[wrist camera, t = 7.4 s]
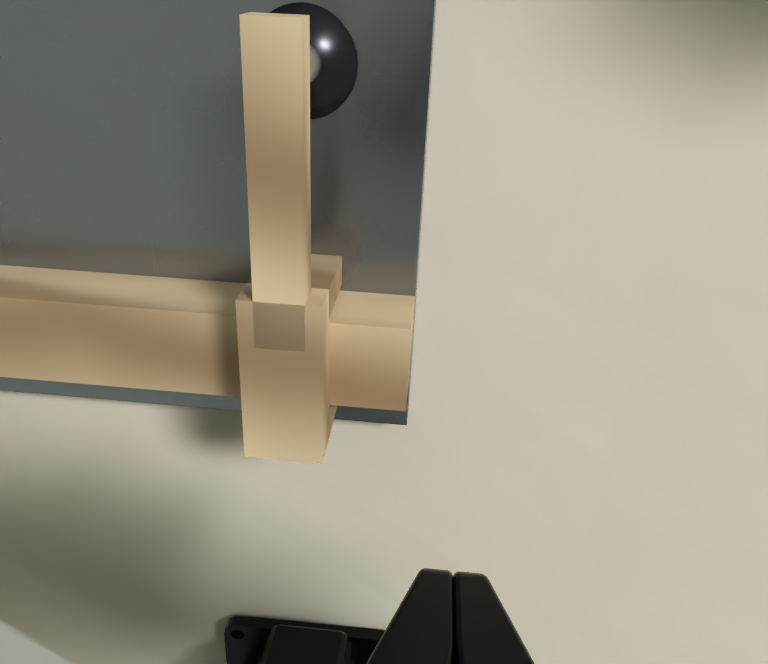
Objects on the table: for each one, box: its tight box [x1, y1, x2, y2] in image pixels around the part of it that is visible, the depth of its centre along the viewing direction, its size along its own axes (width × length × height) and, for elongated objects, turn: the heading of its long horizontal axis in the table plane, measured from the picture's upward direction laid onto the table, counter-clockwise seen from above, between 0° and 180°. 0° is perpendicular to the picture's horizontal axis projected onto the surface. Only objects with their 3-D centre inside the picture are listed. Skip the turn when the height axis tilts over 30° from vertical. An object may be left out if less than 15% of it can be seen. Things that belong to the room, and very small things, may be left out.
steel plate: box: [0, 0, 436, 425], centre depth 19 cm, size 16×22×1 cm
